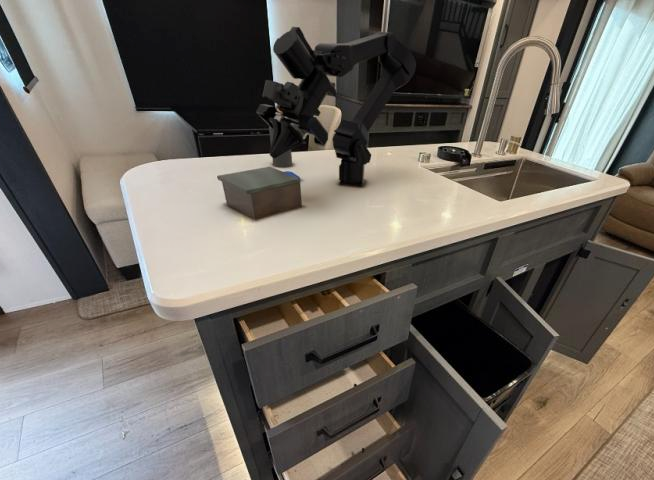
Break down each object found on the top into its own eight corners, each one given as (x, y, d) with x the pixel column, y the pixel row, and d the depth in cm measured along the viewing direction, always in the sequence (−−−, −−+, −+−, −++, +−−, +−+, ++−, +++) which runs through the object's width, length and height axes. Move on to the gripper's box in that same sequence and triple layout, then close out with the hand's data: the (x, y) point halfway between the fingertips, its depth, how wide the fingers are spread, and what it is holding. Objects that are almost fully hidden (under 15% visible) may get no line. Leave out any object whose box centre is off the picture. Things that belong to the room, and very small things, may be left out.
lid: (247, 194, 64) (246, 190, 64) (217, 179, 70) (216, 175, 69) (300, 182, 73) (300, 178, 72) (270, 169, 78) (269, 166, 78)
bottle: (289, 168, 100) (285, 112, 91) (270, 166, 99) (264, 110, 90) (294, 163, 104) (290, 110, 95) (276, 161, 104) (270, 108, 95)
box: (255, 220, 68) (250, 193, 65) (226, 204, 73) (221, 178, 70) (302, 206, 76) (300, 182, 73) (273, 193, 81) (270, 169, 78)
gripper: (257, 60, 68) (218, 121, 68) (315, 68, 60) (271, 139, 59) (291, 102, 78) (257, 156, 78) (345, 114, 69) (307, 176, 69)
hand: (271, 156), depth 71 cm, fingers closed
